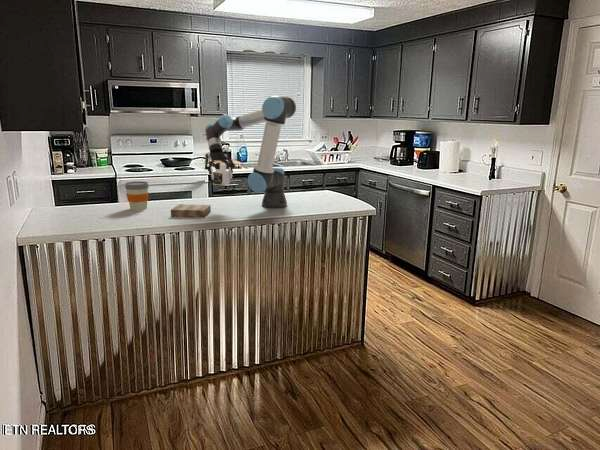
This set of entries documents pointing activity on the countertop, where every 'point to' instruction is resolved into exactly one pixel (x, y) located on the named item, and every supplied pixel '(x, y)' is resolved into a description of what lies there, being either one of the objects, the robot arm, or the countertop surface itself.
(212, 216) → the countertop surface
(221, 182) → the medicine bottle
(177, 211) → the block
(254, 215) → the countertop surface
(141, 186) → the reusable coffee cup
